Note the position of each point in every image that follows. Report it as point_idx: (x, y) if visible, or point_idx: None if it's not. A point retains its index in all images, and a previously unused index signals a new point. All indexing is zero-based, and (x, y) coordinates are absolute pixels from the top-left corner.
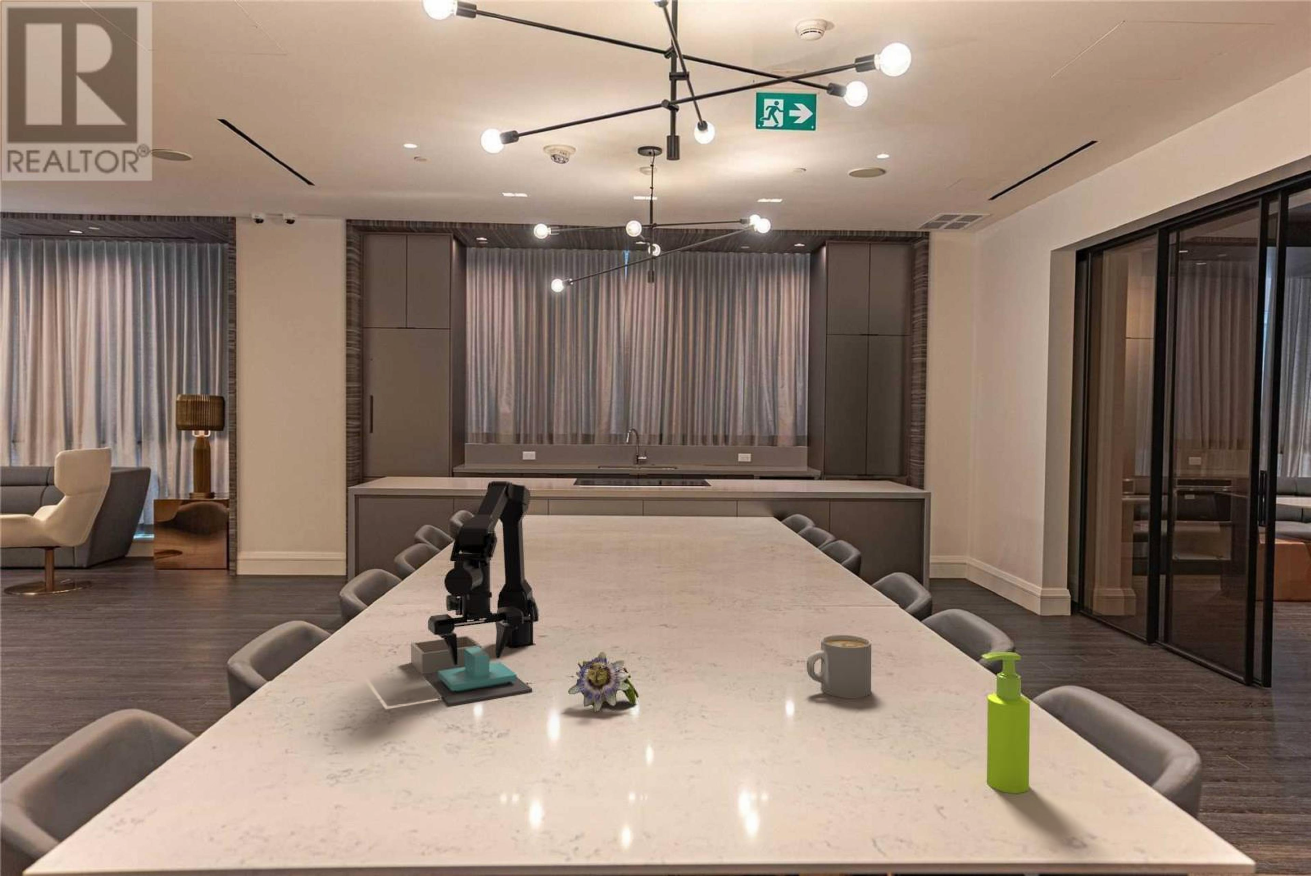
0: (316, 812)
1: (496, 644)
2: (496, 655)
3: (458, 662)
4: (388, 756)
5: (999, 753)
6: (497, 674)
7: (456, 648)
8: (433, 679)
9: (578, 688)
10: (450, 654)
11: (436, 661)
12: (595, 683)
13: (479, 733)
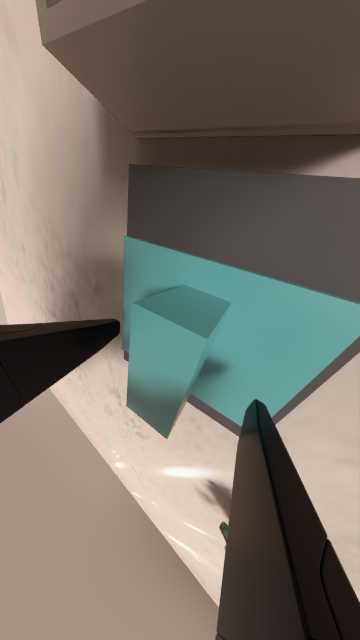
0: (60, 388)
1: (259, 475)
2: (251, 412)
3: (256, 96)
4: (78, 380)
5: None
6: (220, 391)
7: (54, 380)
8: (139, 220)
9: (225, 548)
10: (78, 322)
11: (141, 89)
12: None
13: (128, 418)
